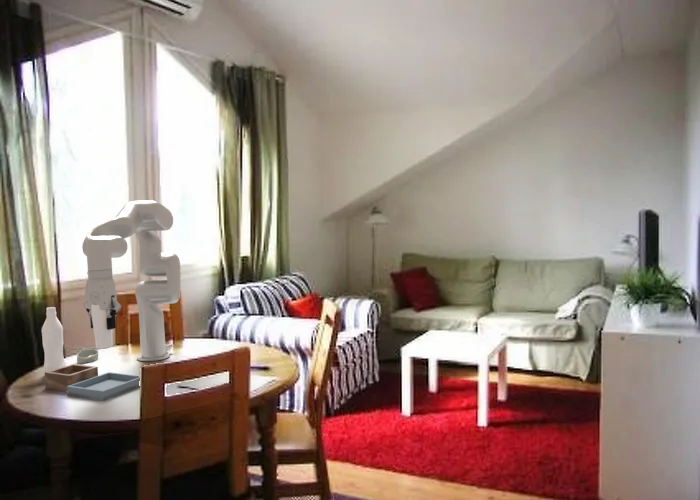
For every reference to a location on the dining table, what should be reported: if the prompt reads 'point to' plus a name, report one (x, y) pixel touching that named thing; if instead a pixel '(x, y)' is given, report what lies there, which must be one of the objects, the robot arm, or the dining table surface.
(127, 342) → the dining table surface
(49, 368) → the water bottle
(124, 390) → the tray
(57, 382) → the frame
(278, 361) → the dining table surface
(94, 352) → the wristwatch
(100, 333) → the drinking glass
